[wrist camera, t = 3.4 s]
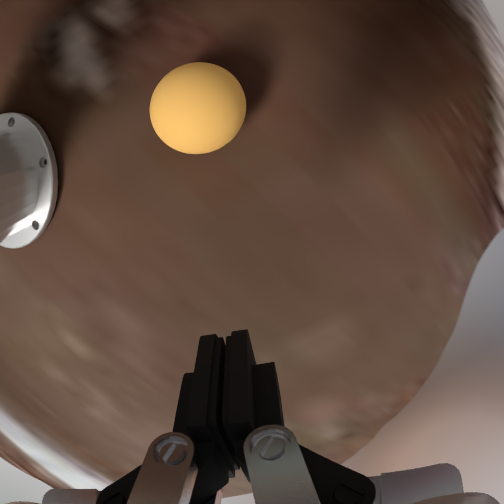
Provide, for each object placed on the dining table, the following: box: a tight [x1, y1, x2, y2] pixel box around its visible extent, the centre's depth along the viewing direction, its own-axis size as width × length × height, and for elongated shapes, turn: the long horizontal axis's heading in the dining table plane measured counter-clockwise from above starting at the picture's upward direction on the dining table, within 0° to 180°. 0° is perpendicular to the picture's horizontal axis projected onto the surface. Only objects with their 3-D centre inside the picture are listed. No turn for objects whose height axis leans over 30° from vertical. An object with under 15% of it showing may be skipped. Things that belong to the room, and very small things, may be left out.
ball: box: [150, 62, 246, 154], centre depth 17 cm, size 6×6×6 cm
